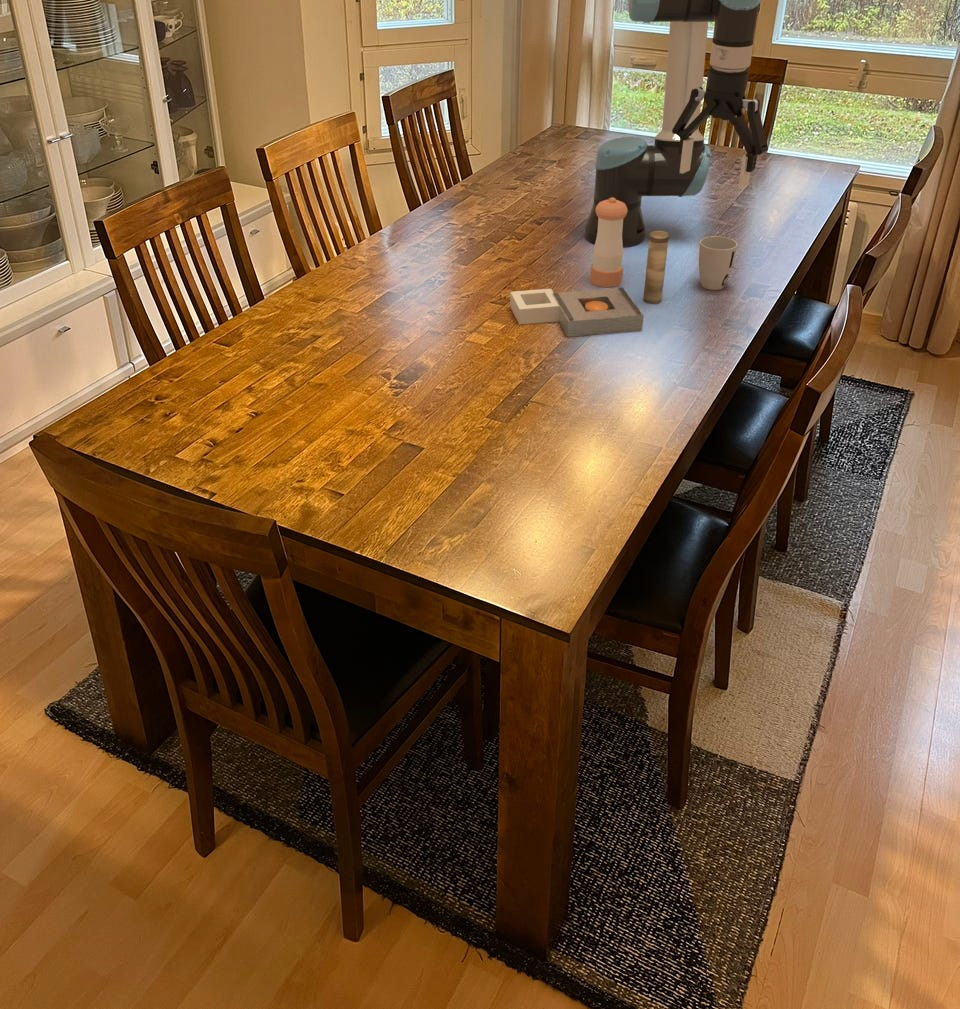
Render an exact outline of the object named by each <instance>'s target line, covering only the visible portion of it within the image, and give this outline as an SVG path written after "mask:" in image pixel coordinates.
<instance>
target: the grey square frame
mask: <svg viewBox="0 0 960 1009" xmlns="http://www.w3.org/2000/svg"><path fill="white" fill-rule="evenodd" d="M553 293H554V295H555V296H553V297H556V298H557V301H558V305H559V303H560V305H559V321H558V323H559V325H560V326H561V328H562V330H563V332H564V334H565V335H566V337H567V338H572V337H573V338H574V337H583V336H585V337H586V336H593V335H595V336H596V335H604V334H605V335H606V334H618V333H628V332H639V331H643V326H644V325H643V324H644V316H645V315H644V313H643V312H642V311H641V309H640V308H639V307H638V305H637V304H636V303H635V301H634V300H633V298H632V297H631V296H630V295H629V294H628V292H627V291H626V290H625V288H624V287H616V288H615V287H611V288H602V289H600V288H599V289H591V290H589V289H588V290H578V291H565V292H564V291H563V292H553ZM553 293H552V294H553ZM590 301H601V302H604V303H606V304H607V305H608V310H601V311H589V312H586V311H585V304H586V303H588V302H590Z"/></svg>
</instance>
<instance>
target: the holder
mask: <svg viewBox="0 0 960 1009" xmlns="http://www.w3.org/2000/svg"><path fill="white" fill-rule="evenodd" d="M552 293H553V294H552ZM554 293H555V292H554V291H553V289H552V288H541V289H530V290H516V291H510V294H509V295H510V298H509V300H510V302H509V303H510V304H509V305H510V306H509V307H510V309H511V311H512V313H513V315H514V318H515V319H516V321H517V323H518V325H520V326H521V324H522V325H530V324H531V325H532V324H543V323H544V324H545V323H555V322H556V323H557V322H559V305H560V303H559V305H558V301H557V298H556V297H553V296H555V295H554Z"/></svg>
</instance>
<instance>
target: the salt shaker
mask: <svg viewBox="0 0 960 1009" xmlns="http://www.w3.org/2000/svg"><path fill="white" fill-rule="evenodd" d="M595 211H596V214H597V216H598V217H599V218H598V230H597V238H596V242H595V244H594V245H593V247H594V248H593V251H592V253H593V255H592V264H591V266H590V274H589V275H590V277H589V278H590V279H589V281H590V283H591V284H592V285H594V286H596V287H601V288H615V287H618V286H620V285H621V284H622V282H623V275H624V267H623V265H622V264H623V256H624V247H623V243H622V229H623V218H624V217H625V216H626V214H627V212H628V210H627V207H626V205H625V203H623V202H621V201H619V200H616V199H615V198H609V199H608V200H604V201H601V202H599V204H598V205H597V207H596V209H595Z"/></svg>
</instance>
